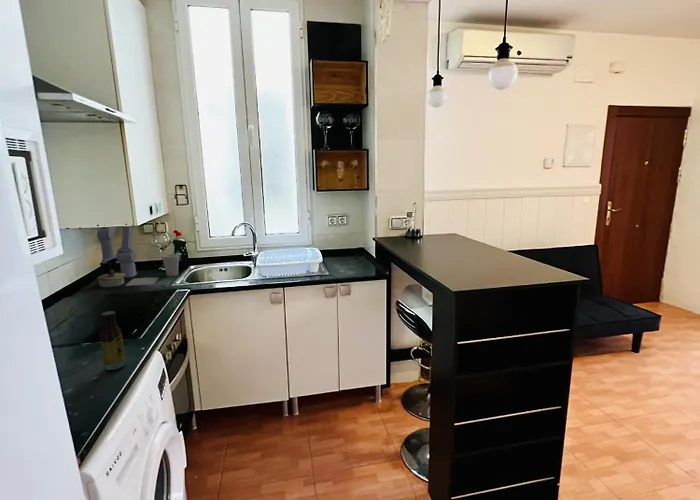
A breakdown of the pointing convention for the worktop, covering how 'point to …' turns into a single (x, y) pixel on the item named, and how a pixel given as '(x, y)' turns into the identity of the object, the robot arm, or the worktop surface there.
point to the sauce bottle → (111, 340)
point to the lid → (111, 276)
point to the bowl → (111, 283)
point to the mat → (142, 281)
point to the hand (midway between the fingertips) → (110, 272)
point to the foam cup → (171, 264)
